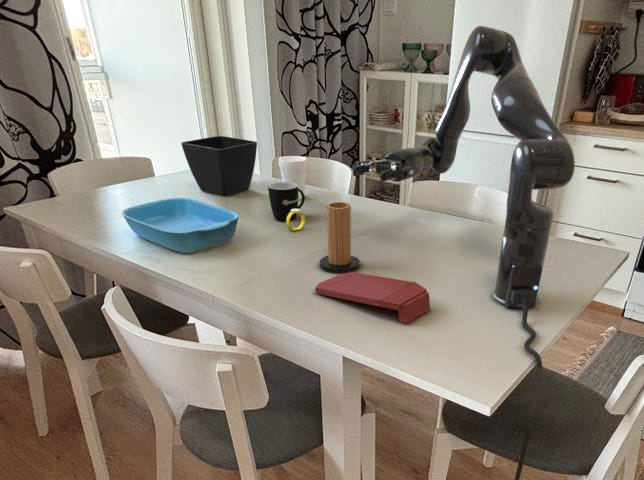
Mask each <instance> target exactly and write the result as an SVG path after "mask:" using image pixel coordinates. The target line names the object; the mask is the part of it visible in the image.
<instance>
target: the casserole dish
mask: <svg viewBox="0 0 644 480" xmlns="http://www.w3.org/2000/svg"><path fill="white" fill-rule="evenodd" d="M121 215H122V217H123V219H124V220H125V222H126V224H127V225H128V226H129V228H130V229H131V230H132V232H133V233H134V234H135V235H137V236H139V237H140V238H143V239H145V240H147V241H149V242H151V243H155V244H157V245H159V246H162V247H164V248H167V249H168V250H172V251H175V252H178V253H183V254H189V253H190V254H191V253H196V252H199V251H203V250H206V249H210V248H211V247H212V248H213V247H216V246H219V245H222V244H223V245H224V244H225V243H228V242H229V241H231V240H232V239H233V237H234V236H235V234H236V230H237V225H238V220H239V215H238V213H236V212H234V211H232V210H229V209H226V208H224V207H220V206H217V205H214V204H210V203H207V202H204V201H202V200H198V199H194V198H189V197H171V198H164V199H154V200H148V201H143V202H139V203H136V204H134V205H133V206H129V207H127V208H124V209H123V210H122V211H121Z"/></svg>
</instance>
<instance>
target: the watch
mask: <svg viewBox="0 0 644 480" xmlns="http://www.w3.org/2000/svg"><path fill="white" fill-rule="evenodd" d="M294 213H297V214H299V215H300V217H301V221H300V224H299V226H298V227H294V228H293V227H292V226H291V221H290V218H291V216H292V215H293V214H294ZM305 223H306V216H305V214H304V212H302V211H301V208H300V209H291V212H290V213H289V214H288V216H287V219H286V221H285V224H286V227H287V228H288V229H289V230H290V231H292V232H294V231H295V232H296V231H300V230H302V229H303V227H304V226H305Z"/></svg>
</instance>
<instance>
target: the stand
mask: <svg viewBox="0 0 644 480" xmlns="http://www.w3.org/2000/svg"><path fill="white" fill-rule="evenodd" d="M360 262H361V261H360V259H359V258H358V257H357V256H354V255H351V262H350V263H349V264H346V265H334V264H331V263H329V260H328V255H326V256H323V257H322V258H320V259H319V267H320V269H321V270H323V271H324V272H327V273H331V274H344V273H349V272H355V271H357V270H358V269H359V268H360V264H361V263H360Z"/></svg>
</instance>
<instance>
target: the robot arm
mask: <svg viewBox="0 0 644 480" xmlns="http://www.w3.org/2000/svg"><path fill="white" fill-rule="evenodd" d="M458 63H459V64H458V66H457V70H456V73H455V76H454V79H453V83H452V86H451V90H450V93H449V96H448V99H447V101H446V104H445V107H444V109H443V111H442V114H441V116H440V118H439V120H438V122H437V124H436V126H435V129H434V135H435V136H428V137H427V138H426V139H424V140H423V142H421V143H420V144H419V145H417V146H414V147H405V148H401V149H397V150H393V151H391V152H389V153H388V154H387V155H386V156H385V158H384V159H380V160H375V159H372V158H371V159H367V160H362V161H357V162H356V165H355V166H353V167H352V176H353V177H360V176H363V175H370V176H371V177H373V176H374V177H378V176H379V177H380V178H379V179H380V182H387V181H392V182H401V181H405V180H408V179H411V178H413V177H416V176H418V175H421V174H423V173H427V172H428V171H430V170H431V169H432V170H433V171H434V172H435V173H436V174H440V175H441V174H444V173H447V172H448V171H450V169H451V168H452V166H453V164H454V162H455V159H456V155H457V151H458V144H459V140H460V137H461V135H462V134H463V131H464V129H465V127H466V126H467V124H468V122H469V119H470V114H471V103H470V95H469V84H470V79H471V77H472V75H473V73H475V72H476V73H479V74H480V73H481V74H484V75H488V76H493V77H495V78H496V79H497V82H495V85H494V87H493V89H492V91H491V92H492V93H491V107H492V109H493V112H494V113H495V116H496V118H497V121H498V123H499V124H500V126H501V127H502V128H503V129H504V130H505V131H506V132H508V133H509V134H510V135H512V137H513V136H514V137H515V138H517V139H518V140H519V141H518V143H517V144H516V145H515V148H514V149H513V153H512V157H511V162H510V170H509V182H508V189H507V190H508V192H507V198H506V213H505V214H506V215H505V222H504V229H503V235H502V240H501V247H500V254H499V261H498V267H497V272H496V279H495V286H494V291H493V294H492V297H493V299H494V300H495V302H497V303H498V304H501V305H503V306H505V308H510V309H512V308H513V309H514V308H515V309H517V308H521V309H522V316H521V317H522V318H521V322H522V323H521V324H522V326H523V328H524V329H525V330H526V331H527V332H528V333H529V334H530V336H529V337H528V338H527V339H526V341H525V342H524V349H525V351H527V353H529V354H530V355H532V356H533V358H534V360H535V363H536V368H537V369H543V361H542V358H541V355H540V354H539V353H538V351H536V350H535V349H533V348H532V347H531V343H532V342H534V340H535V339H536V336H537V333H536V330H535V329H533V328H532V327H531V326H530V325H529V324H528V314H529V313H528V312H529V311H528V308H535V306H536V304H537V300H538V295H539V293H538V292H539V289H540V284H541V280H542V279H541V278H542V274H543V269H544V264H545V260H546V256H547V255H546V254H547V249H548V246H549V240H550V236H551V231H552V226H553V221H554V211H553V210H552V209H551V208H550V207H548V206H546V205H544V204H542V203H539V202H536V201H534V200H533V198H532V197H533V190H534V191H535V190H537V191H538V190H541V191H543V190H556V189H560V188H563V187H565V186H567V185H568V184H569V183H570V182H571V180H572V179H573V176H574V174H575V170H576V169H575V168H576V161H575V160H576V159H575V153H574V151H573V148H572V145H571V144H570V142H569V140H568V139H567V137H566V136H565V135H564V133H563V132H562V131H561V129H560V128H559V127H558V125H557V123H555V121H554V120H553V118H552V117H551V115H550V113H549V111H548V110H547V109H546V107H545V105H544V103H543V102H542V99H541V97H540V95H539V92H538V90H537V89H536V86H535V85H534V83H533V81H532V79H531V77H530V76H529V74H528V71H527V69H526V67H525V65H524V63H523V60H522V57H521V54H520V50H519V46H518V43H517V41H516V39H515V37H514V36H513V35H512V34H511V33H509V32H507V31H505V30H501V29H497V28H493V27H489V26H484V25H478V26H476V27H474V29H473V30H471V32H470V33H469V36H468V38H467V40H466V42H465V45H464V47H463V50H462V54H461V57H460V60H459V62H458ZM374 170H375V171H374ZM531 432H532V428H525V431H524V436H523V442H522V446H521V451H520V454H519V459H518V464H517V468H516V472H515V476H514V480H520V479H521V475H522V471H523V467H524V463H525V458H526V455H527V451H528V450H527V449H528V445H529V441H530V436H531Z"/></svg>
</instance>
